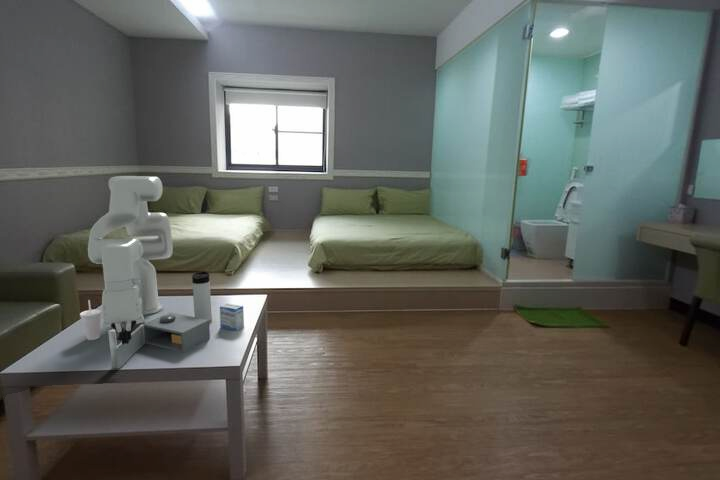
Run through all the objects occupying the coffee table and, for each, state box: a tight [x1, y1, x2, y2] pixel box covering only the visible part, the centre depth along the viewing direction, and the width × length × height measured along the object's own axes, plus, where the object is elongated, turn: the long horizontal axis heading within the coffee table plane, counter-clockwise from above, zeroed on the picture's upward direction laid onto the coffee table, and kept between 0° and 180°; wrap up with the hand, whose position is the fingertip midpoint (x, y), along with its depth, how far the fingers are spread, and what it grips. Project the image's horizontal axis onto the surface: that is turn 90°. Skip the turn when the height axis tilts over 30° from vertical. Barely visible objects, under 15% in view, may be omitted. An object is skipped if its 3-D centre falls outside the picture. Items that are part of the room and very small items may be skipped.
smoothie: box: [79, 299, 102, 341], centre depth 138 cm, size 6×6×14 cm
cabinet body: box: [143, 312, 211, 353], centre depth 138 cm, size 18×12×8 cm, turn 69°
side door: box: [108, 325, 146, 370], centre depth 126 cm, size 18×3×12 cm, turn 6°
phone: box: [116, 322, 145, 341], centre depth 145 cm, size 7×1×15 cm
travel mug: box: [191, 270, 213, 324], centre depth 154 cm, size 6×7×20 cm
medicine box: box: [219, 303, 245, 331], centre depth 150 cm, size 8×4×9 cm, turn 70°
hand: (125, 342), depth 119 cm, fingers closed
